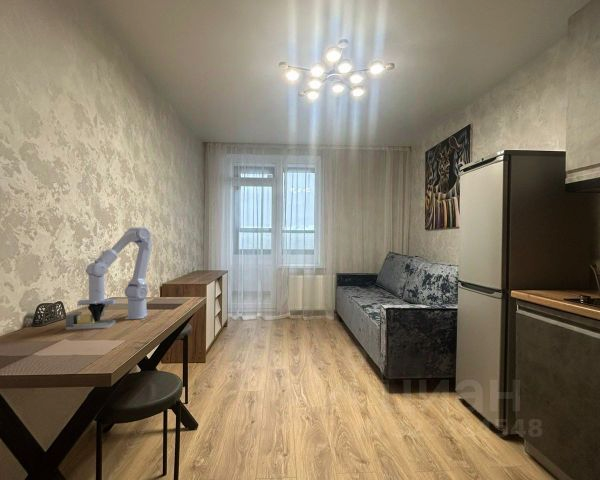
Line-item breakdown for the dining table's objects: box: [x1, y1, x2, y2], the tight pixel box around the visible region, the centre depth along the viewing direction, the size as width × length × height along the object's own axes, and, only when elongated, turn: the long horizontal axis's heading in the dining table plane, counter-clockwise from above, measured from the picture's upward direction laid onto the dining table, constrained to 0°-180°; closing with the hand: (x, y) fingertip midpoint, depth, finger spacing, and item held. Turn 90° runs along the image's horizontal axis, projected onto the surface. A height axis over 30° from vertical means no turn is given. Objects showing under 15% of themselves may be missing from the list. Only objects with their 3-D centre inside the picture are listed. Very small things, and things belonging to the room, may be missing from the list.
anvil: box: [65, 311, 82, 328], centre depth 138 cm, size 6×3×5 cm, turn 8°
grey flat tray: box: [65, 318, 117, 331], centre depth 140 cm, size 9×17×2 cm, turn 98°
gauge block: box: [77, 313, 95, 324], centre depth 138 cm, size 5×5×4 cm
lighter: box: [101, 304, 110, 317], centre depth 159 cm, size 7×2×8 cm, turn 116°
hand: (97, 321), depth 139 cm, fingers closed
